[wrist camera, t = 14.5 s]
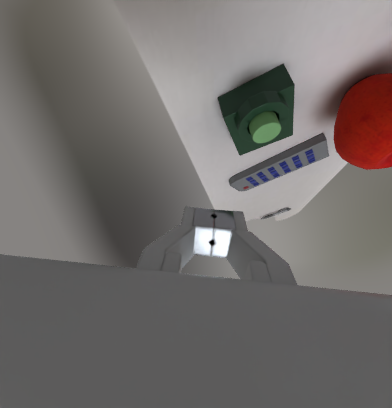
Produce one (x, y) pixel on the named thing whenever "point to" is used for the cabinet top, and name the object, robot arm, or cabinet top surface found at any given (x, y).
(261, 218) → the pen
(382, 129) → the apple
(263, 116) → the light green button cap
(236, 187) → the remote control
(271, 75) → the button base
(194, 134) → the cabinet top surface
